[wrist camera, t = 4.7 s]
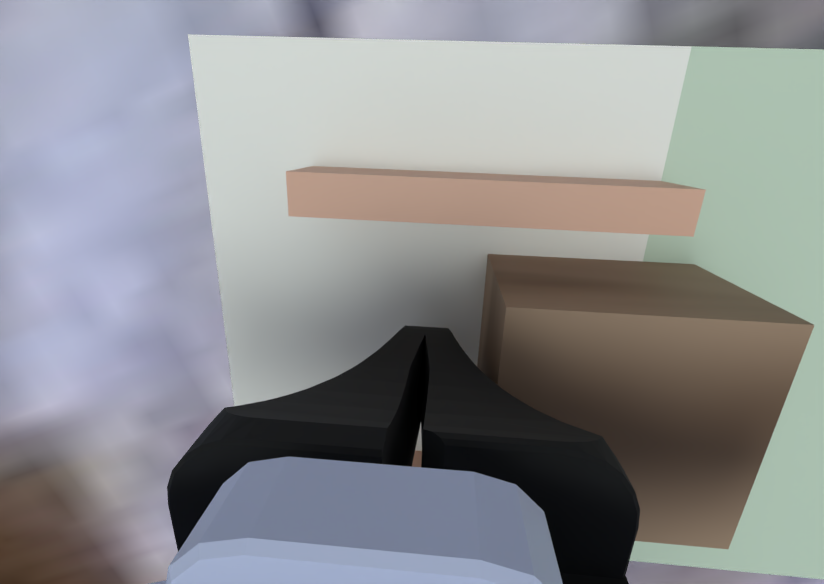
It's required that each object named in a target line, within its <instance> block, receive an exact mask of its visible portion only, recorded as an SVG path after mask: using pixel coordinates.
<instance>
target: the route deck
mask: <svg viewBox="0 0 824 584" xmlns="http://www.w3.org/2000/svg"><path fill="white" fill-rule="evenodd" d="M188 39H189V47H190V55H191V63H192V71H193V79H194V87H195V95H196V103H197V111H198V119H199V127H200V135H201V143H202V151H203V159H204V167H205V175H206V183H207V191H208V199H209V207H210V215H211V223H212V231H213V239H214V247H215V255H216V263H217V271H218V279H219V287H220V295H221V303H222V311H223V319H224V327H225V335H226V343H227V351H228V359H229V367H230V375H231V383H232V391H233V399H234V406H239V405H244V404H250V403H255V402H260V401H266V400H270V399H274V398H278V397H282V396H285V395H289V394H292V393H295V392H299V391H302V390H305V389H308V388H310V387H313V386H315V385H317V384H320V383H322V382H325V381H327V380H329V379H332V378H334V377H336V376H338V375H340V374H342V373H344V372H346V371H348V370H349V369H351V368H353V367H354V366H356V365H358V364H359V363H361V362H362V361H364V360H365V359H366V358H368V357H369V356H370V355H372V354H373V353H375V352H376V351H377V350H378V349H380V348H381V347H382V346H383V345H384V344H385V343H387V342H388V341H389V340H390V339H391V338H392V337H393V336H394V335H395V334H396V333H397V332H398V331H399V330H400V329H402V328H403V327H404V326H405V325H406V326H422V327H438V328H449V329H450V331H451V332H452V333H453V335H454V337H455V339H456V340H457V342H458V343H459V345H460V346H461V347H462V349H463V350H464V352H465V353H466V354H467V355H468V357H469V358H470V359H471V360H472V362H473V363H474V364H475V365H476V366H477V362H478V352H479V341H480V331H481V320H482V309H483V299H484V288H485V277H486V267H487V256H488V254H502V255H522V256H542V257H562V258H582V259H602V260H622V261H642V262H662V263H682V264H695V265H697V266H699V267H701V268H703V269H705V270H707V271H709V272H711V273H713V274H715V275H717V276H719V277H721V278H723V279H725V280H727V281H729V282H731V283H733V284H735V285H737V286H739V287H740V288H742V289H744V290H746V291H748V292H750V293H752V294H754V295H756V296H758V297H760V298H762V299H764V300H766V301H768V302H770V303H772V304H774V305H776V306H778V307H780V308H782V309H784V310H786V311H788V312H790V313H792V314H794V315H796V316H798V317H800V318H802V319H804V320H806V321H808V322H810V323H812V324H814V328H813V330H812V333H811V336H810V338H809V341H808V343H807V346H806V349H805V351H804V354H803V356H802V359H801V362H800V364H799V367H798V369H797V372H796V375H795V377H794V380H793V382H792V385H791V388H790V390H789V393H788V395H787V398H786V401H785V403H784V406H783V408H782V411H781V414H780V416H779V419H778V422H777V424H776V427H775V429H774V432H773V435H772V437H771V440H770V442H769V445H768V448H767V450H766V453H765V455H764V458H763V461H762V463H761V466H760V468H759V471H758V474H757V476H756V479H755V481H754V484H753V487H752V489H751V492H750V494H749V497H748V500H747V502H746V505H745V507H744V510H743V513H742V515H741V518H740V520H739V523H738V526H737V528H736V531H735V533H734V536H733V539H732V541H731V544H730V546H729V549H718V548H707V547H696V546H685V545H674V544H663V543H652V542H641V541H635V542H634V546H633V549H632V553H631V556H630V560H629V561H639V562H649V563H660V564H670V565H680V566H691V567H701V568H711V569H721V570H732V571H742V572H752V573H763V574H773V575H783V576H794V577H804V578H814V579H824V50H819V49H776V48H734V47H691V46H649V45H607V44H564V43H522V42H479V41H437V40H395V39H352V38H310V37H267V36H225V35H188ZM421 462H422V436H421V424H420V429H419V434H418V439H417V444H416V449H415V453H414V458H413V463H412V467H421Z"/></svg>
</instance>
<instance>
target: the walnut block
mask: <svg viewBox="0 0 824 584" xmlns="http://www.w3.org/2000/svg"><path fill="white" fill-rule="evenodd" d="M813 328H814V324H812V323H810V322H808V321H806V320H804V319H802V318H800V317H798V316H796V315H794V314H792V313H790V312H788V311H786V310H784V309H782V308H780V307H778V306H776V305H774V304H772V303H770V302H768V301H766V300H764V299H762V298H760V297H758V296H756V295H754V294H752V293H750V292H748V291H746V290H744V289H742V288H740V287H739V286H737V285H735V284H733V283H731V282H729V281H727V280H725V279H723V278H721V277H719V276H717V275H715V274H713V273H711V272H709V271H707V270H705V269H703V268H701V267H699V266H697V265H695V264H682V263H662V262H642V261H622V260H602V259H582V258H562V257H542V256H522V255H502V254H488V256H487V267H486V277H485V288H484V299H483V309H482V320H481V331H480V341H479V352H478V362H477V367H478V368H479V369H480V370H481V371H482V372H483V373H484V374H485V375H486V376H487V377H488V378H490V379H491V380H492V381H493V382H495V383H496V384H497V385H498V386H500V387H501V388H502V389H503V390H505V391H506V392H508V393H509V394H511V395H512V396H514V397H515V398H517V399H519V400H520V401H522V402H524V403H525V404H527V405H529V406H530V407H532V408H534V409H536V410H538V411H540V412H542V413H544V414H546V415H548V416H551V417H553V418H555V419H557V420H559V421H561V422H564V423H567V424H569V425H572V426H575V427H578V428H581V429H583V430H586V431H589V432H592V433H595V434H597V435H600V436H602V437H603V438H604V440H605V441H606V443H607V444H608V446H609V447H610V449H611V450H612V452H613V453H614V454H615V456H616V457H617V459H618V461H619V463H620V464H621V466H622V468H623V469H624V471H625V473H626V475H627V477H628V479H629V481H630V482H631V484H632V486H633V488H634V490H635V492H636V496H637V500H638V503H639V507H640V517H639V528H638V531H637V535H636V538H635V541H641V542H652V543H663V544H674V545H685V546H696V547H707V548H718V549H729V546H730V544H731V541H732V539H733V536H734V533H735V531H736V528H737V526H738V523H739V520H740V518H741V515H742V513H743V510H744V507H745V505H746V502H747V500H748V497H749V494H750V492H751V489H752V487H753V484H754V481H755V479H756V476H757V474H758V471H759V468H760V466H761V463H762V461H763V458H764V455H765V453H766V450H767V448H768V445H769V442H770V440H771V437H772V435H773V432H774V429H775V427H776V424H777V422H778V419H779V416H780V414H781V411H782V408H783V406H784V403H785V401H786V398H787V395H788V393H789V390H790V388H791V385H792V382H793V380H794V377H795V375H796V372H797V369H798V367H799V364H800V362H801V359H802V356H803V354H804V351H805V349H806V346H807V343H808V341H809V338H810V336H811V333H812V330H813Z"/></svg>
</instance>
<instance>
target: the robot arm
mask: <svg viewBox="0 0 824 584" xmlns="http://www.w3.org/2000/svg"><path fill="white" fill-rule="evenodd" d="M420 424H421V436H422V462H421V467H412V463H413V458H414V453H415V449H416V444H417V439H418V434H419V429H420ZM167 490H168V506H169V511H170V515H171V520H172V525H173V529H174V534H175V539H176V544H177V548H178V553H177V555H176V556H175V558H174V559H173V561H172V562H171V564H170V565H169V567H168V574H167V580H166V581H160V582H154V583H149V584H629V583H628V581H627V578H626V576H625V574H626V571H627V567H628V563H629V560H630V556H631V553H632V549H633V546H634V542H635V538H636V535H637V531H638V528H639V517H640V507H639V503H638V500H637V496H636V492H635V490H634V488H633V486H632V484H631V482H630V481H629V479H628V477H627V475H626V473H625V471H624V469H623V468H622V466H621V464H620V463H619V461H618V459H617V457H616V456H615V454H614V453H613V452H612V450H611V449H610V447H609V446H608V444H607V443H606V441H605V440H604V438H603V437H602V436H600V435H597V434H595V433H592V432H589V431H586V430H583V429H581V428H578V427H575V426H572V425H569V424H567V423H564V422H561V421H559V420H557V419H555V418H553V417H551V416H548V415H546V414H544V413H542V412H540V411H538V410H536V409H534V408H532V407H530V406H529V405H527V404H525V403H524V402H522V401H520V400H519V399H517V398H515V397H514V396H512V395H511V394H509V393H508V392H506V391H505V390H503V389H502V388H501V387H500V386H498V385H497V384H496V383H495V382H493V381H492V380H491V379H490V378H488V377H487V376H486V375H485V374H484V373H483V372H482V371H481V370H480V369H479V368H478V367H477V366H476V365H475V364H474V363H473V362H472V360H471V359H470V358H469V357H468V355H467V354H466V353H465V352H464V350H463V349H462V347H461V346H460V345H459V343H458V342H457V340H456V339H455V337H454V335H453V333H452V332H451V331H450V329H449V328H438V327H422V326H406V325H405V326H404V327H403V328H402V329H400V330H399V331H398V332H397V333H396V334H395V335H394V336H393V337H392V338H391V339H390V340H389V341H388V342H387V343H385V344H384V345H383V346H382V347H381V348H380V349H378V350H377V351H376V352H375V353H373V354H372V355H370V356H369V357H368V358H366V359H365V360H364V361H362V362H361V363H359V364H358V365H356V366H354V367H353V368H351V369H349V370H348V371H346V372H344V373H342V374H340V375H338V376H336V377H334V378H332V379H329V380H327V381H325V382H322V383H320V384H317V385H315V386H313V387H310V388H308V389H305V390H302V391H299V392H295V393H292V394H289V395H285V396H282V397H278V398H274V399H270V400H266V401H260V402H255V403H250V404H244V405H239V406H234V407H227V408H224V409H223V410H222V411H221V412H220V413H219V414H218V415H217V417H216V418H215V419H214V420H213V421H212V422H211V423H210V424H209V425H208V427H207V428H206V429H205V430H204V431H203V433H202V434H201V435H200V436H199V438H198V439H197V440H196V441H195V443H194V444H193V445H192V446H191V447H190V449H189V450H188V451H187V452H186V454H185V455H184V456H183V457H182V459H181V460H180V461H179V462H178V464H177V465H176V466H175V468H174V469H173V470H172V473H171V476H170V480H169V483H168V486H167Z"/></svg>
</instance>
